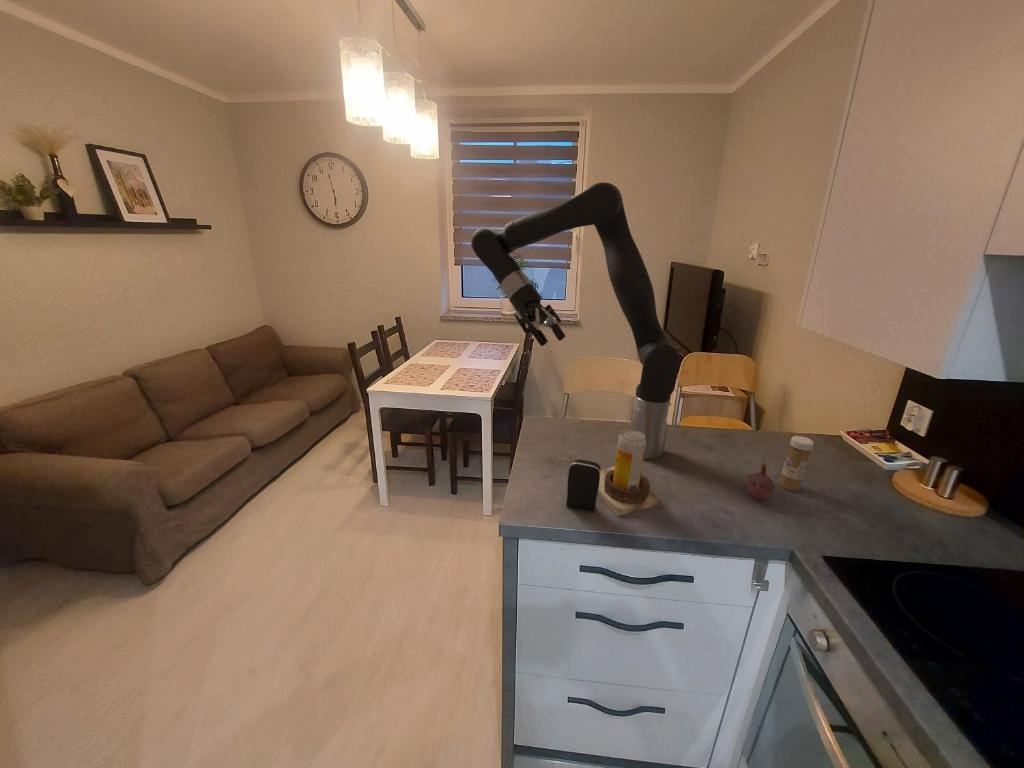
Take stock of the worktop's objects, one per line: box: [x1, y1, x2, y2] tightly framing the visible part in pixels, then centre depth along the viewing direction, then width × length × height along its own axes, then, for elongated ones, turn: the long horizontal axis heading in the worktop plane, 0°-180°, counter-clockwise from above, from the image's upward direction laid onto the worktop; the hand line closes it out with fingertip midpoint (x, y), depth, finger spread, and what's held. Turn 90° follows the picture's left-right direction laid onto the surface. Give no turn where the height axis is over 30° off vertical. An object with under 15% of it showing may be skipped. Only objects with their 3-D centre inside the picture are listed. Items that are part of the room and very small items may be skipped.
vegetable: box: [745, 461, 775, 500], centre depth 97 cm, size 6×6×10 cm
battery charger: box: [565, 458, 602, 513], centre depth 92 cm, size 7×4×11 cm, turn 71°
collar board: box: [597, 465, 662, 516], centre depth 99 cm, size 12×16×4 cm
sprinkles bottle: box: [778, 435, 815, 492], centre depth 102 cm, size 5×5×14 cm
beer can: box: [613, 429, 646, 490], centre depth 95 cm, size 6×6×15 cm
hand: (554, 341), depth 106 cm, fingers open, 8 cm apart
